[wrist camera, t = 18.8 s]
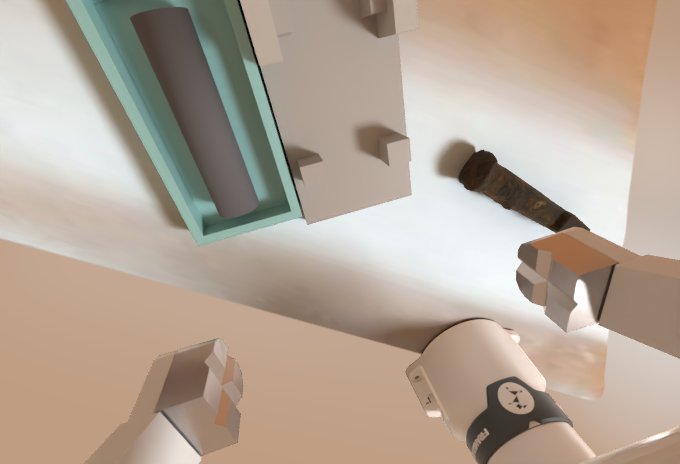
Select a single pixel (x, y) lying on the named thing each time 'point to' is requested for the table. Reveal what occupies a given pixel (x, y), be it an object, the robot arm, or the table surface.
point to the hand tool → (514, 193)
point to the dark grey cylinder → (196, 106)
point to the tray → (161, 126)
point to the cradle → (337, 97)
